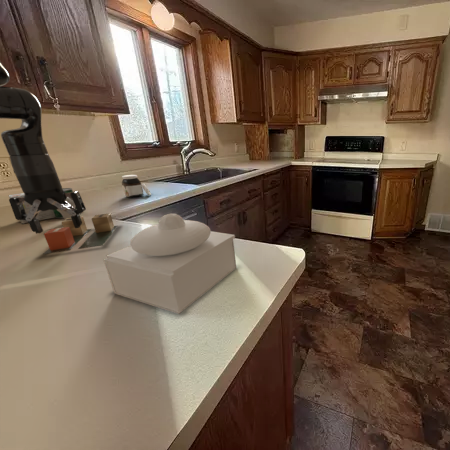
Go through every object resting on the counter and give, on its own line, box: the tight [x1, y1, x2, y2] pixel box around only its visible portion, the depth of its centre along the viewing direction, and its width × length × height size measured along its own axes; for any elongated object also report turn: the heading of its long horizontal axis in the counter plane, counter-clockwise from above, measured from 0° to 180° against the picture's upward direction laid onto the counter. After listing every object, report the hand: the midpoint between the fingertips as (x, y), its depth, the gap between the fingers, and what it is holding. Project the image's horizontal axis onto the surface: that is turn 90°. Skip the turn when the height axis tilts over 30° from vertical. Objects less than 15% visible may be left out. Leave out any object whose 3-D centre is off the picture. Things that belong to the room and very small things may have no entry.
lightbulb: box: [57, 197, 75, 220], centre depth 91 cm, size 6×6×11 cm
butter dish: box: [103, 213, 237, 315], centre depth 52 cm, size 18×18×16 cm
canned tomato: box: [53, 187, 82, 219], centre depth 101 cm, size 8×8×11 cm
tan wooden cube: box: [61, 216, 88, 236], centre depth 80 cm, size 4×4×5 cm
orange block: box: [43, 227, 75, 250], centre depth 70 cm, size 4×4×5 cm
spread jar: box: [121, 174, 152, 199], centre depth 134 cm, size 12×11×12 cm
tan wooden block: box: [91, 213, 115, 233], centre depth 82 cm, size 4×4×5 cm
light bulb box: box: [8, 192, 56, 225], centre depth 97 cm, size 11×7×11 cm, turn 143°
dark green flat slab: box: [43, 225, 118, 255], centre depth 77 cm, size 14×20×1 cm
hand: (59, 229), depth 70 cm, fingers open, 8 cm apart
